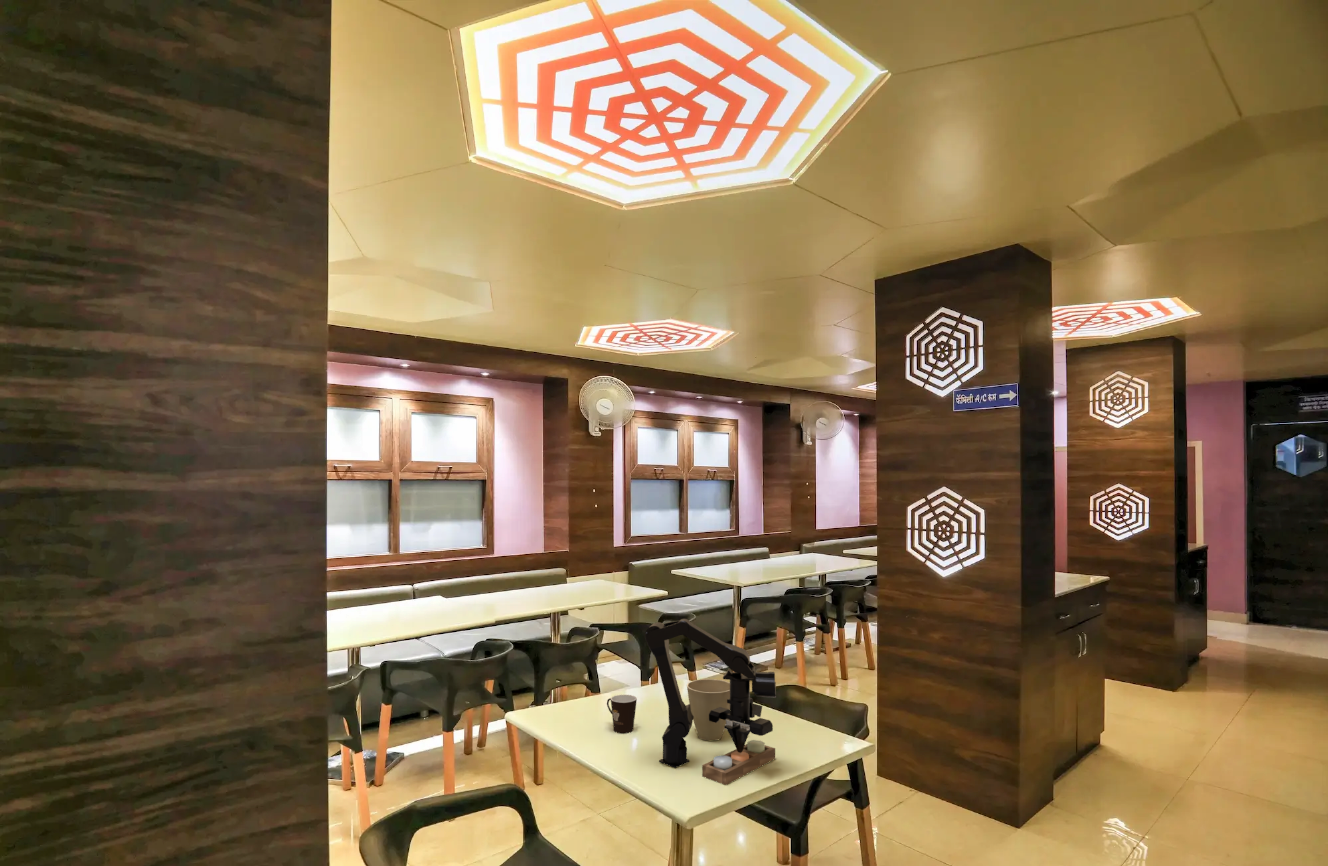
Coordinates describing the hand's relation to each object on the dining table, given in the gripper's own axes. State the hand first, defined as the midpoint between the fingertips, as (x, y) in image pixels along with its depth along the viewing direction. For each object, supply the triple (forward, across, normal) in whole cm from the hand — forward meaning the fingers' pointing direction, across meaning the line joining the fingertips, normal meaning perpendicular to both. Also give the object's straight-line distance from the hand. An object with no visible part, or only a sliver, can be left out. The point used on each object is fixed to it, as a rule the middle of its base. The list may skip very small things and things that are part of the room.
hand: (740, 752), depth 185 cm
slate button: (+3, 0, +8) cm, 8 cm away
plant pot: (+4, +21, -13) cm, 25 cm away
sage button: (+3, 0, -8) cm, 8 cm away
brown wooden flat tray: (+4, 0, 0) cm, 4 cm away
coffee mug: (+4, +47, +1) cm, 47 cm away
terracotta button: (+4, 0, 0) cm, 4 cm away
